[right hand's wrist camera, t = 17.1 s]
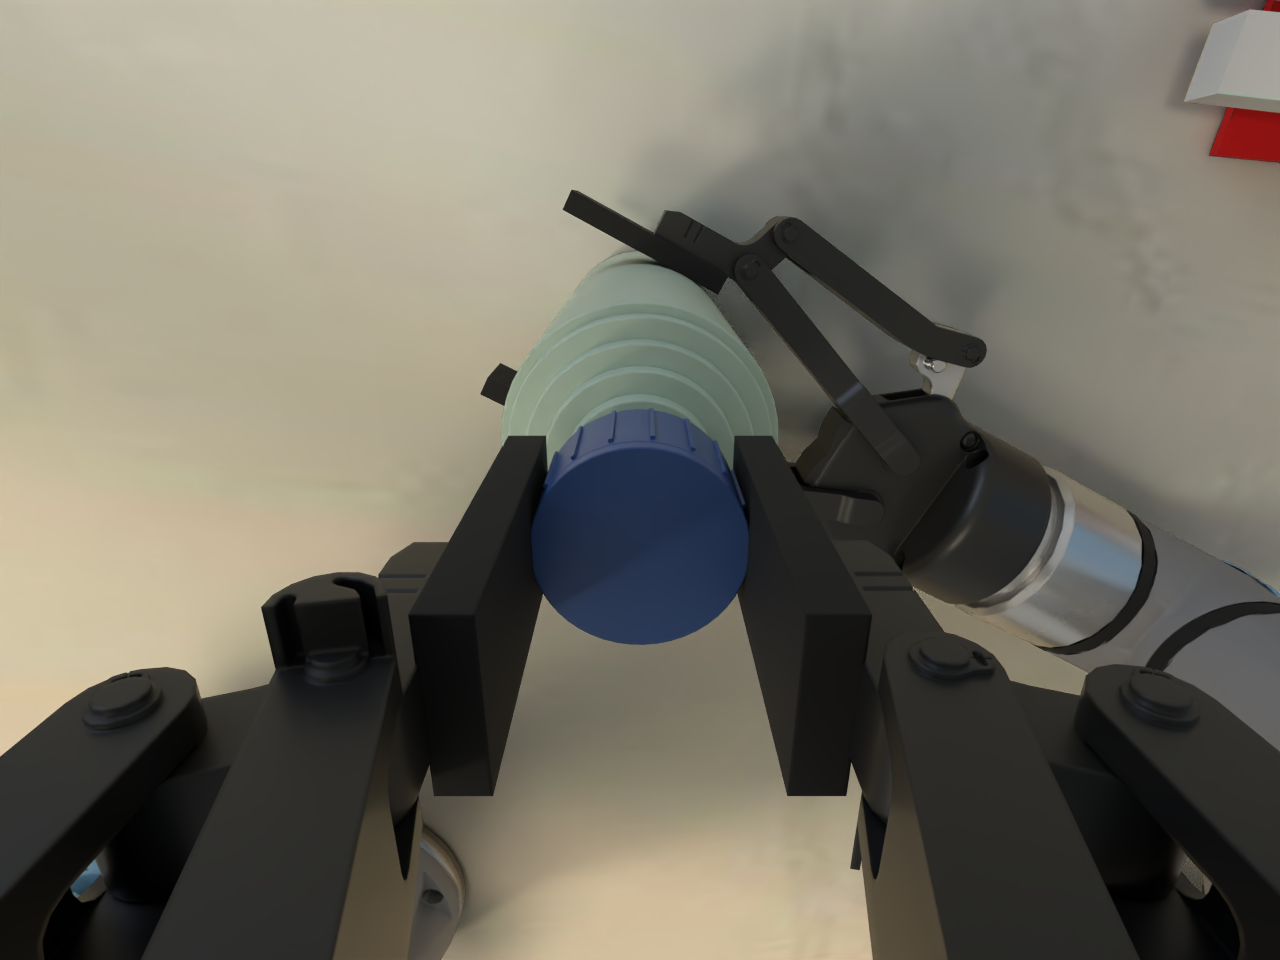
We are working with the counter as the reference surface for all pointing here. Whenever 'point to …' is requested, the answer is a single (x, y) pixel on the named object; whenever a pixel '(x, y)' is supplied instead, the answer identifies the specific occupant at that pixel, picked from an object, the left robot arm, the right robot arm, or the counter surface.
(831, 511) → the left robot arm
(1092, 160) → the counter surface
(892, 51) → the counter surface
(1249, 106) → the toy
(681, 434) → the cap
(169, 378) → the counter surface
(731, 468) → the bottle
